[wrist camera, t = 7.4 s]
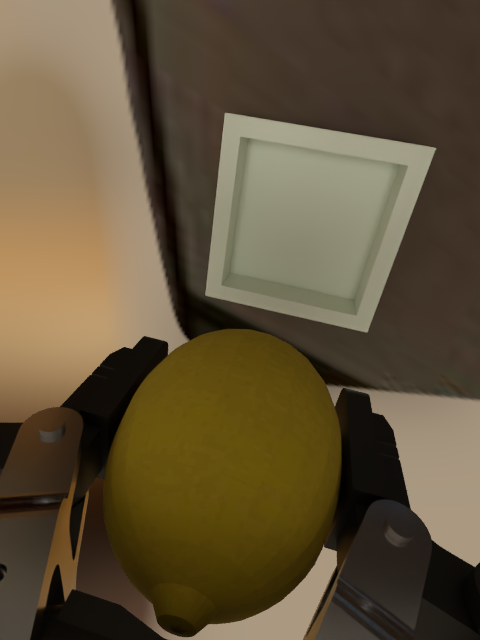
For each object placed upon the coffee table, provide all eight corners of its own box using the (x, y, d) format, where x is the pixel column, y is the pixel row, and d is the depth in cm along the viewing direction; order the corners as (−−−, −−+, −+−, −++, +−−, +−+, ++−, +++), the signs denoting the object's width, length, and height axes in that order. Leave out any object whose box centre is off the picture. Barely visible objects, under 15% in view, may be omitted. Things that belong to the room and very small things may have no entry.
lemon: (207, 424, 15) (103, 686, 8) (160, 301, 13) (-45, 516, 6) (348, 415, 13) (374, 735, 6) (322, 271, 11) (315, 524, 4)
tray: (422, 145, 21) (435, 148, 18) (363, 312, 26) (367, 332, 24) (237, 114, 22) (225, 112, 20) (217, 279, 28) (205, 295, 25)
